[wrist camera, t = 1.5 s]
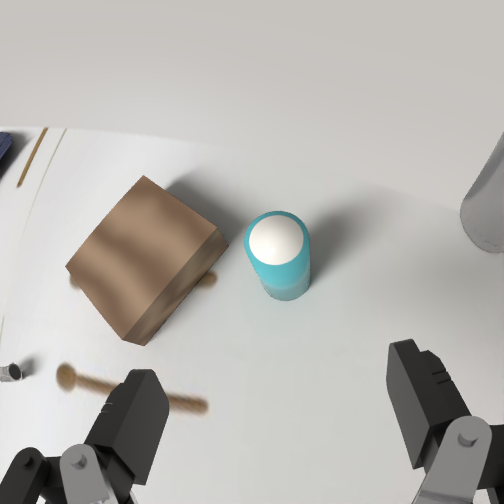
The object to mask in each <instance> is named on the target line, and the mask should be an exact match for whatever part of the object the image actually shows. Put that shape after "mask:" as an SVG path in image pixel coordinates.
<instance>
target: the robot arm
mask: <svg viewBox="0 0 504 504" xmlns="http://www.w3.org/2000/svg"><path fill="white" fill-rule="evenodd" d="M460 215H461V221H462V224H463V227H464V229H465V231H466V233H467V234H468V236H469V237H470V238H471V240H472V241H473V242H474V243H475V244H476V245H477V246H479V247H480V248H482V249H483V250H486V251H488V252H493V253H498V252H502V251H504V132H503V134H502V136H501V138H500V140H499V142H498V143H497V145H496V147H495V149H494V151H493V152H492V154H491V156H490V158H489V159H488V161H487V163H486V164H485V166H484V168H483V170H482V171H481V173H480V175H479V176H478V178H477V179H476V181H475V182H474V184H473V186H472V187H471V189H470V190H469V192H468V194H467V195H466V196H465V198H464V200H463V202H462V204H461V209H460ZM386 382H387V390H388V394H389V397H390V399H391V402H392V405H393V408H394V411H395V414H396V417H397V420H398V423H399V426H400V429H401V432H402V435H403V438H404V441H405V445H406V448H407V451H408V454H409V458H410V461H411V464H412V468H413V469H417V468H420V467H424V470H425V473H426V476H425V478H424V480H423V482H422V484H421V486H420V488H419V490H418V492H417V494H416V496H415V498H414V500H413V502H412V503H411V504H473V503H472V502H473V498H474V495H475V492H476V490H479V489H487V492H488V496H489V499H490V503H491V504H504V424H503V425H488V424H487V423H486V422H485V421H484V420H483V419H481V418H479V417H476V416H472V415H471V413H470V412H469V410H468V408H467V406H466V404H465V402H464V400H463V399H462V397H461V395H460V393H459V391H458V389H457V388H456V386H455V384H454V382H453V381H451V377H450V375H449V374H448V372H446V368H445V367H444V365H443V363H442V362H441V360H440V358H438V357H437V356H436V355H434V354H433V353H432V352H430V351H429V350H427V351H423V352H420V351H419V349H418V347H417V345H416V344H415V342H414V340H413V339H407V340H403V341H398V342H394V343H390V345H389V353H388V365H387V375H386ZM105 403H106V404H105V405H104V406H103V408H102V409H101V413H99V415H98V417H97V419H96V421H95V423H94V425H93V426H92V428H91V430H90V432H89V434H88V436H87V438H86V440H85V442H84V443H83V444H77V445H74V446H71V447H70V448H68V449H67V450H66V451H65V452H64V453H63V454H62V456H59V457H44V456H43V455H42V454H41V453H40V451H39V450H38V449H36V448H33V447H28V448H25V449H23V450H21V451H20V452H18V453H17V455H16V456H15V457H14V459H13V461H12V463H11V465H10V467H9V469H8V471H7V472H6V474H5V476H4V478H3V480H2V482H1V484H0V504H36V502H37V500H38V498H39V495H40V496H41V497H43V498H44V499H45V500H46V502H45V504H138V502H137V500H136V498H135V496H134V494H133V492H132V491H131V488H132V485H133V484H139V485H145V484H146V481H147V478H148V475H149V472H150V469H151V466H152V463H153V460H154V457H155V454H156V451H157V448H158V445H159V442H160V439H161V436H162V433H163V430H164V427H165V424H166V421H167V418H168V415H169V401H168V398H167V396H166V394H165V392H164V390H163V388H162V386H161V384H160V382H159V380H158V378H157V376H156V374H155V372H154V371H153V370H151V369H133V370H131V371H130V372H129V374H128V376H127V378H126V380H125V381H124V383H120V384H119V385H118V386H117V387H116V388H115V389H114V390H113V391H112V392H111V393H110V395H109V397H108V398H107V400H106V402H105Z"/></svg>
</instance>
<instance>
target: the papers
mask: <svg viewBox="0 0 504 504" xmlns="http://www.w3.org/2000/svg"><path fill="white" fill-rule="evenodd" d="M12 138H13V137H12V136H11V134H8V133H3V132H0V159H1V157H2V156H3V154H4V153H5V152H6V150H7V149H8V148H9V146H10V145H11V144H12V142H13V141H10V140H11V139H12Z"/></svg>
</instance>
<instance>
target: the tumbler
mask: <svg viewBox="0 0 504 504" xmlns="http://www.w3.org/2000/svg"><path fill="white" fill-rule="evenodd" d="M244 246H245V250H246V253H247V255H248V257H249V259H250V261H251V263H252V265H253V267H254V269H255V271H256V273H257V275H258V277H259V279H260V281H261V283H262V285H263V287H264V289H265V290H266V292H267V293H268V294H269V295H270V296H271V297H273V298H275V299H277V300H281V301H290V300H294V299H296V298H298V297H300V296H301V295H302V294H303V293H304V292H305V291H306V290H307V288H308V286H309V283H310V251H309V235H308V231H307V228H306V226H305V225H304V223H303V222H302V221H301V220H300V219H299V218H298V217H296V216H295V215H293V214H291V213H288V212H283V211H273V212H268V213H265V214H263V215H261V216H259V217H258V218H256V219H255V220H254V221H253V222H252V223H251V224H250V226H249V227H248V229H247V231H246V234H245V238H244Z"/></svg>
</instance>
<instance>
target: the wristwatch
mask: <svg viewBox="0 0 504 504" xmlns="http://www.w3.org/2000/svg"><path fill="white" fill-rule="evenodd" d="M7 367H8V371H7ZM22 379H23V378H22V372H21V369H20V368H19V367H18V366H17V365H16V364H14V363H12V364H10V365H9V366H6V367H0V381H1V382H14V381H15V382H16V381H20V380H22Z"/></svg>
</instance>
